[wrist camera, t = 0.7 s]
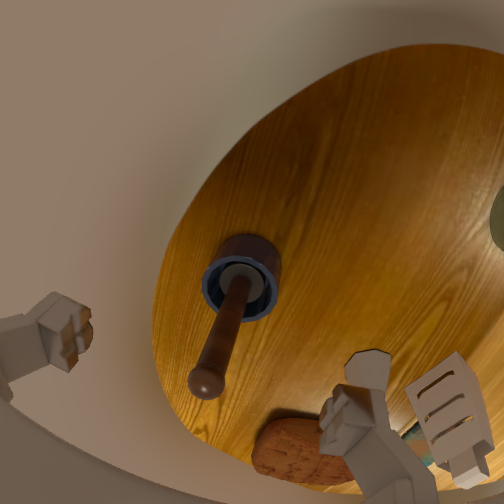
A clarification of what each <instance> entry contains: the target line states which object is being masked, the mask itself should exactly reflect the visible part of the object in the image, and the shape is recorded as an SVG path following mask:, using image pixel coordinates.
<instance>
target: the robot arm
mask: <svg viewBox="0 0 504 504" xmlns="http://www.w3.org/2000/svg"><path fill="white" fill-rule="evenodd" d="M91 317H92V316H91V309H90V308H88V307H87V306H85V305H83V304H80V303H78V302H76V301H74V300H72V299H70V298H68V297H66V296H63V295H61V294H59V293H58V292H51V293H50V294H49V295H47V296H46V297H45V298H44V299H43V300H42V301H40V302H39V303H38V304H37V305H36V306H35V307H33V308H32V309H31V310H30V311H29V312H28V313H27V314H26V315H23V314H19V315H15V316H11V317H7V318H3V319H0V504H226V503H221V502H218V501H213V500H209V499H206V498H202V497H198V496H195V495H191V494H188V493H185V492H181V491H178V490H175V489H172V488H169V487H166V486H163V485H160V484H157V483H154V482H152V481H149V480H147V479H144V478H142V477H139V476H136V475H134V474H131V473H129V472H127V471H125V470H122V469H120V468H118V467H116V466H113V465H111V464H109V463H107V462H105V461H102V460H101V459H99V458H96V457H94V456H93V455H91V454H89V453H87V452H85V451H83V450H81V449H79V448H77V447H76V446H74V445H72V444H70V443H68V442H67V441H65V440H63V439H62V438H60V437H58V436H56V435H55V434H53V433H52V432H50V431H48V430H47V429H45V428H44V427H42V426H41V425H39V424H38V423H36V422H35V421H33V420H32V419H30V418H29V417H27V416H26V415H24V414H23V413H22V412H20V411H19V410H17V409H16V408H15V407H13V406H12V405H10V404H9V402H10V401H11V400H12V398H13V392H12V391H11V389H10V387H9V385H8V383H10V382H12V381H14V380H16V379H18V378H20V377H23V376H25V375H27V374H29V373H32V372H34V371H36V370H38V369H40V368H42V367H44V366H47V365H49V363H50V364H52V365H54V366H56V367H58V368H60V369H62V370H63V371H65V372H67V373H69V372H70V371H71V369H72V368H73V367H74V366H75V364H76V363H77V362H78V354H81V353H84V352H86V350H87V349H88V348H89V347H90V344H91V342H92V339H93V327H92V325H91V324H90V322H89V319H90V318H91ZM319 426H320V427H321V429H322V430H323V432H322V434H321V435H320V436H319V453H320V454H326V455H334V456H342V457H343V459H344V461H345V463H346V464H347V466H348V468H349V470H350V471H351V473H352V475H353V477H354V478H355V480H356V482H357V484H358V485H359V487H360V489H361V490H362V492H363V494H364V496H365V497H366V500H365V501H363V502H361V503H360V504H439V500H438V494H437V488H436V482H435V477H434V475H433V474H432V473H431V472H430V470H429V469H428V468H427V467H426V466H425V465H424V464H423V462H422V461H421V460H420V459H419V458H418V457H417V455H416V454H415V453H414V452H413V451H412V450H411V448H410V447H409V446H408V445H407V444H406V443H405V442H404V440H403V439H402V438H401V437H400V436H399V435H398V433H397V432H396V431H395V430H391V428H390V423H389V417H388V412H387V407H386V402H385V398H384V393H383V391H382V390H378V389H371V388H364V387H357V386H351V385H345V384H340V383H339V384H338V385H336V386H335V388H334V389H333V397H331V398H328V399H327V400H326V401H325V403H324V405H323V407H322V410H321V413H320V418H319ZM464 504H504V492H503V493H500V494H497V495H493V496H490V497H487V498H484V499H480V500H476V501H472V502H468V503H464Z"/></svg>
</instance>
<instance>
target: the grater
mask: <svg viewBox="0 0 504 504" xmlns="http://www.w3.org/2000/svg"><path fill="white" fill-rule="evenodd" d="M452 370H453V372H454V374H455V375H448V376H447V377H445V378H444V379H443V380H441V381H440V382H438V383H437V384H436V385H434V386H433V387H431V388H430V389H428V390H427V391H425V392H424V393H422V395H421V396H420V398H419V400H418V398H417V394H418V393H419V392H420V391H421V390H422V389H423V388H425V387H426V386H428V385H429V384H431V383H432V382H434V381H435V380H437V379H438V378H439V377H441V376H442V375H444V374H445V373H446V372H449V371H452ZM404 389H405V391H406V393H407V396H408V398H409V400H410V402H411V405H412V407H413V409H414V411H415V414H416V416H417V418H418V421H419V423H420V425H421V428H422V430H423V433H424V435H425V438H426V440H427V443H428V445H429V448H430V450H431V453H432V455H433V458H434V460H435V463H436V466H437V467H440V468H442V469H444V470H446V471H448V472H451V474H452V478H453V481H454V483H455V485H456V486H458V487H461V488H464V489H469V488H471V487H473V486H475V485H477V484H479V483H480V482H482V481H484V480H486V479H487V478H489V470H488V466H487V463H486V459H485V455H487V454H488V453H490V452H491V451H493V450H494V449H495V447H494V442H493V437H492V432H491V428H490V423H489V419H488V415H487V411H486V407H485V403H484V400H483V396H482V393H481V389H480V386H479V382H478V379H477V376H476V375H475V374H474V372H473V371H472V370H471V368H470V367H469V366H468V364H467V363H466V362H465V361H464V359H463V358H462V357H461V355H460V354H459V353H458V352H457V350H456V351H455V352H454V353H453V354H451V355H450V356H449V357H447V358H446V359H445V360H443V361H442V362H441V363H439V364H438V365H437V366H435V367H434V368H433V369H431V370H430V371H428V372H427V373H426V374H424V375H423V376H421V377H420V378H418V379H417V380H416V381H414V382H413V383H411V384H410V385H408V386H407V387H405V388H404ZM428 414H429V418H428ZM471 415H472V416H473V418H472V419H471V420H469V421H466V422H464V423H463V424H461V425H459V426H458V427H456V428H455V429H453V430H451V431H450V432H448V431H449V430H450V429H451V428H453V427H454V426H456V425H458V424H459V423H461V422H462V421H464V420H465V419H467V418H468V417H470V416H471ZM426 416H427V417H426ZM425 417H426V418H427V420H428V421H426V419H424V418H425ZM425 422H426V423H425ZM447 432H448V433H447ZM446 433H447V434H446ZM434 437H437V438H438V439H435V438H434ZM432 439H433V441H432ZM434 439H435V442H434ZM432 442H433V445H432ZM445 461H447V463H446V462H445Z"/></svg>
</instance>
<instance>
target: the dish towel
mask: <svg viewBox="0 0 504 504" xmlns="http://www.w3.org/2000/svg"><path fill="white" fill-rule="evenodd" d="M426 421H427V420H426ZM425 423H426V422H425ZM461 424H463V423H459V424H458V425H456V426H454V427H453V428H451V429H450V430H449V431H448V432H450V431H451V430H453V429H455V428H456V427H458V426H459V425H461ZM448 432H447V433H448ZM447 433H446V434H447ZM434 438H435V439H438V438H437V437H434ZM402 439H403V440H404V442H405V443H406V444H407V445H408V446H409V447H410V448H411V450H412V451H413V452H414V453H415V454H416V455H417V457H418V458H419V459H420V460H421V461H422V462H423V464H424V465H425V466H426V467H427V466H429V465H431V464H432V463H433V462H435V460H434V458H433V455H432V453H431V450H430V448H429V445H428V443H427V440H426V438H425V435H424V433H423V430H422V428H421V425H420V423H419V422H418V423H417V424H416V425H415V426H414V427H413V428H412V429H411V430H410V431H409V432H408V433H406V434H405V435H404V436H403V437H402ZM435 439H434V442H435ZM432 441H433V439H432ZM432 445H433V442H432Z"/></svg>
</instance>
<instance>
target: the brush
mask: <svg viewBox="0 0 504 504" xmlns="http://www.w3.org/2000/svg"><path fill="white" fill-rule="evenodd" d="M265 282H266V275H265V274H264V273H263V272H262V271H261V270H260V269H259V268H257V267H255V266H253V265H251V264H249V263H246V262H239V261H231V262H227V263H226V265H225V267H224V269H223V271H222V273H221V275H220V278H219V284H220V288H221V290H222V292H223V293H224V294H225V297H224V300H223V302H222V304H221V307H220V309H219V312H218V314H217V316H216V319H215V321H214V323H213V326H212V328H211V331H210V333H209V335H208V338H207V340H206V343H205V345H204V347H203V350H202V352H201V355H200V357H199V359H198V362H197V364H196V367H195V368H194V369H192V371H191V372H190V374H189V376H188V387H189V390H190V391H191V393H192V394H193V395H194V396H196V397H197V398H199V399H202V400H212V399H215V398H217V397H218V396H219V395H220V394H221V393H222V392H223V390H224V387H225V378H224V377H225V374H226V371H227V367H228V364H229V361H230V358H231V354H232V351H233V348H234V344H235V341H236V338H237V334H238V331H239V328H240V324H241V321H242V318H243V314H244V311H245V308H246V304H247V303H250V302H253V301H255V300H257V299H258V298H259V297H260V296H261V295H262V293H263V290H264V286H265Z"/></svg>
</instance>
